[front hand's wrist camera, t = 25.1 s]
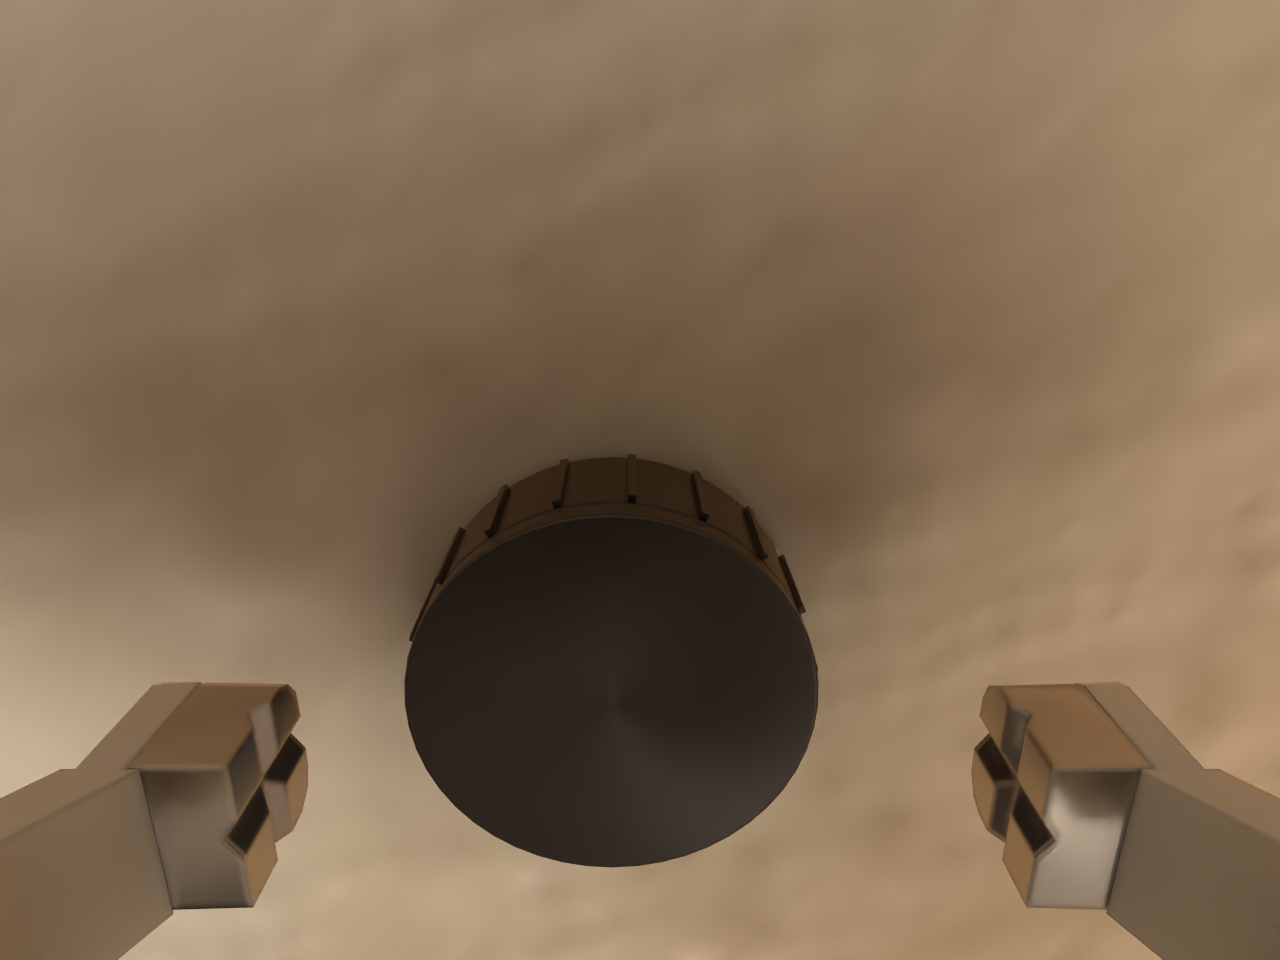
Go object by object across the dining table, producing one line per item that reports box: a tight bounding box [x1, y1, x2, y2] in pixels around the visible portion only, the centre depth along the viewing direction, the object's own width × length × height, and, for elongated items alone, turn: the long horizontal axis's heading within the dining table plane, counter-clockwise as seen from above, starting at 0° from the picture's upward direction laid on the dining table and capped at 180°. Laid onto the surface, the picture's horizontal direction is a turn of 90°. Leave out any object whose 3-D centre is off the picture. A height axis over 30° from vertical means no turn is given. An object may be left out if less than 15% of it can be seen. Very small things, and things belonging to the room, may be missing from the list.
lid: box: [405, 454, 818, 867], centre depth 12 cm, size 6×6×2 cm
